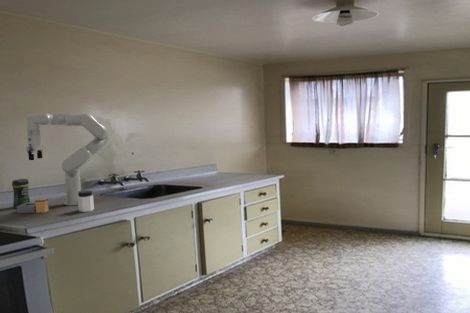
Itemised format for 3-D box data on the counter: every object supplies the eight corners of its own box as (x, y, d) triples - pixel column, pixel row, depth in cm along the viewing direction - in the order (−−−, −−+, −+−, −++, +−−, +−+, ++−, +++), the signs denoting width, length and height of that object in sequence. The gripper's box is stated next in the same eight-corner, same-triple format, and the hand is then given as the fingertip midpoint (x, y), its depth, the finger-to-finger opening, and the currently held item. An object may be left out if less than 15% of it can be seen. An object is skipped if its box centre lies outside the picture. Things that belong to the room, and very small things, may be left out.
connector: (48, 210, 248) (47, 198, 247) (45, 212, 243) (44, 199, 242) (39, 210, 248) (38, 198, 247) (36, 212, 243) (35, 200, 242)
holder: (43, 208, 254) (42, 202, 254) (34, 212, 243) (34, 206, 243) (26, 208, 254) (25, 202, 254) (16, 212, 243) (16, 206, 243)
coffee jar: (19, 209, 254) (17, 180, 252) (11, 208, 257) (9, 180, 255) (33, 205, 262) (30, 178, 260) (24, 204, 266) (22, 177, 264)
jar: (83, 208, 250) (82, 190, 249) (95, 208, 250) (94, 190, 248) (76, 212, 241) (75, 193, 240) (89, 212, 241) (88, 192, 239)
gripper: (31, 133, 246) (33, 160, 248) (46, 132, 263) (48, 157, 265) (20, 134, 246) (22, 161, 248) (35, 132, 264) (37, 157, 266)
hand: (35, 159), depth 257 cm, fingers open, 9 cm apart
